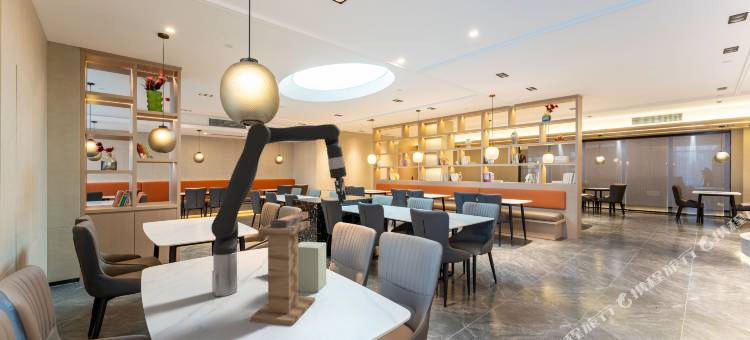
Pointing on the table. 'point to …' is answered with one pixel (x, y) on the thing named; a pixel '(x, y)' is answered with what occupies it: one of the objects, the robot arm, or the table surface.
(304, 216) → the block
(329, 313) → the table surface
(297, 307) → the stand
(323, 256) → the pedestal
